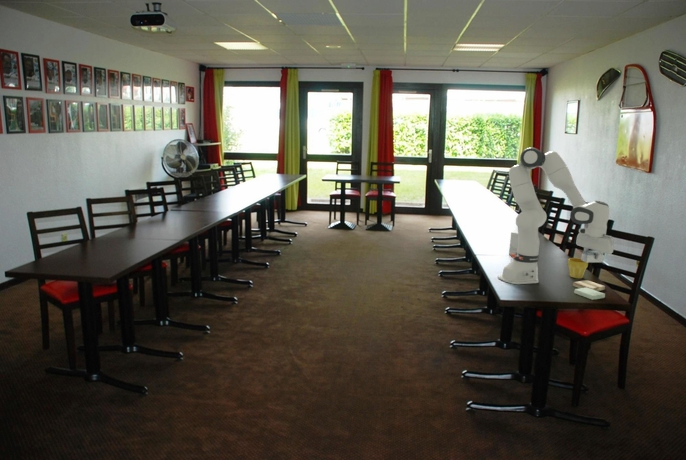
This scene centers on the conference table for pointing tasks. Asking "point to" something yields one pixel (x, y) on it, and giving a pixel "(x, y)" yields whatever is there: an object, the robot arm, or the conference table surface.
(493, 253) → the conference table surface
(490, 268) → the conference table surface
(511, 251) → the supplement box
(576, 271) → the plant pot
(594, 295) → the stand
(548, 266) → the conference table surface
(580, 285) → the stand
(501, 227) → the conference table surface
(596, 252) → the housing
